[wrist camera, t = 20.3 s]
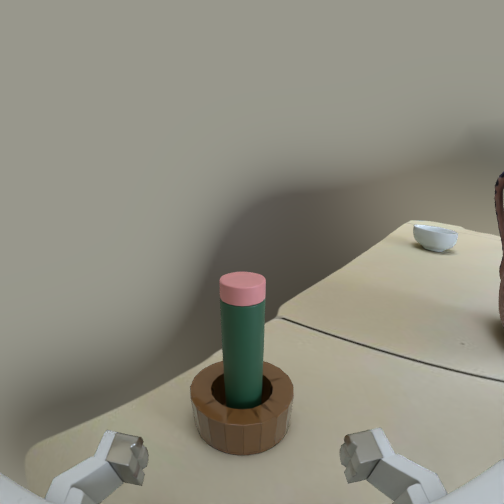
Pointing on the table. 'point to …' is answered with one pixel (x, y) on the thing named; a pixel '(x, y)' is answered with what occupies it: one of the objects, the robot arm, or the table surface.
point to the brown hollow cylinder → (241, 412)
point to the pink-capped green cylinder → (242, 337)
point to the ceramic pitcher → (503, 226)
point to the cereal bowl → (435, 237)
